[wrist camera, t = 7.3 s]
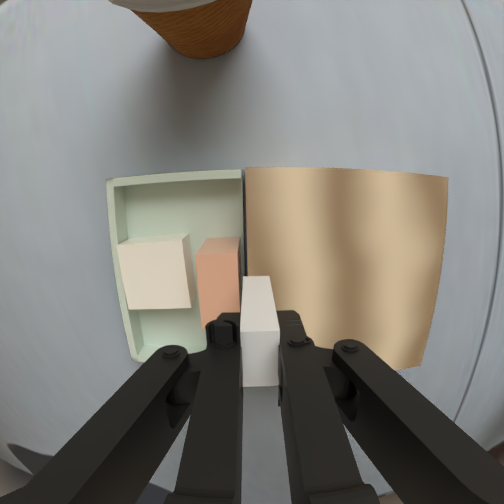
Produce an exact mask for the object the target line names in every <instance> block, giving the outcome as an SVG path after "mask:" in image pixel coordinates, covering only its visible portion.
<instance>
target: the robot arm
mask: <svg viewBox="0 0 504 504" xmlns="http://www.w3.org/2000/svg"><path fill="white" fill-rule="evenodd" d="M205 330H206V340H207V347H206V349H205V350H203V351H200V352H196V353H190V354H188V352H187V349H186V348H184V347H182V346H179V345H166V346H163V347H161V348H159V349H158V350H156V351H155V352H154V353H153V354H152V355H151V356H150V357H149V358H148V359H147V360H146V361H145V363H144V364H143V365H142V366H141V367H140V368H139V369H138V370H137V371H136V372H135V373H134V374H133V375H132V376H131V377H130V378H129V379H128V380H127V381H126V382H125V383H124V384H123V385H122V386H121V387H120V388H119V389H118V390H117V391H116V392H115V394H114V395H113V396H112V397H111V398H110V399H109V400H108V401H107V402H106V403H105V404H104V405H103V406H102V407H101V408H100V409H99V410H98V411H97V412H96V413H95V414H94V415H93V416H92V417H91V418H90V419H89V420H88V421H87V422H86V424H85V425H84V426H83V427H82V428H81V429H80V430H79V431H78V432H77V433H76V434H75V435H74V436H73V437H72V438H71V439H70V440H69V441H68V442H67V443H66V444H65V445H64V446H63V447H62V448H61V449H60V450H59V451H58V452H57V454H56V455H55V456H54V457H53V458H52V459H51V460H50V461H49V462H48V463H47V464H46V465H45V466H44V467H43V468H42V469H41V470H40V471H39V472H38V473H37V474H36V475H35V476H34V477H33V478H32V479H31V480H30V481H29V483H28V484H27V485H26V486H24V487H22V488H20V489H17V490H15V491H13V492H11V493H9V494H7V495H4V496H2V497H0V504H135V502H136V501H137V499H138V498H139V496H140V495H141V493H142V492H143V490H144V488H145V487H146V485H147V484H148V482H149V481H150V479H151V477H152V476H153V474H154V473H155V471H156V470H157V468H158V466H159V465H160V463H161V462H162V460H163V458H164V457H165V455H166V454H167V452H168V450H169V449H170V447H171V445H172V444H173V442H174V441H175V439H176V437H177V436H178V434H179V432H180V431H181V429H182V428H183V426H184V424H185V423H186V421H187V419H188V418H189V416H190V414H191V416H190V421H189V425H188V430H187V434H186V439H185V443H184V448H183V453H182V457H181V462H180V467H179V472H178V477H177V481H176V486H175V490H174V492H173V493H170V494H168V495H167V497H166V499H165V502H164V504H241V480H242V426H243V387H260V386H278V382H279V399H278V406H280V408H281V416H282V424H283V432H284V441H285V449H286V457H287V466H288V475H289V483H290V492H291V501H292V504H380V502H379V500H378V496H377V494H376V492H375V489H374V488H373V487H372V486H371V485H370V484H364V483H363V481H362V479H361V476H360V473H359V470H358V467H357V464H356V461H355V458H354V455H353V452H352V449H351V446H350V443H349V440H348V437H347V434H346V431H345V428H344V425H345V427H346V428H347V429H348V431H349V432H350V433H351V435H352V436H353V437H354V439H355V440H356V441H357V443H358V444H359V445H360V447H361V448H362V450H363V451H364V452H365V454H366V455H367V456H368V458H369V459H370V460H371V461H372V463H373V464H374V465H375V467H376V468H377V469H378V471H379V472H380V473H381V475H382V476H383V477H384V479H385V480H386V481H387V483H388V484H389V485H390V486H391V488H392V489H393V490H394V492H395V493H396V494H397V495H398V497H399V498H400V499H401V500H402V502H403V503H404V504H504V466H502V465H501V464H500V463H499V462H498V461H497V460H496V459H494V458H493V457H492V456H491V455H490V454H489V453H488V452H487V451H485V450H484V449H483V448H482V447H481V446H480V445H479V444H478V443H476V442H475V441H474V440H473V439H472V438H471V437H470V436H468V435H467V434H466V433H465V432H464V431H463V430H462V429H461V428H459V427H458V426H457V425H456V424H455V423H454V422H453V421H452V420H450V419H449V418H448V417H447V416H446V415H445V414H444V413H442V412H441V411H440V410H439V409H438V408H437V407H436V406H435V405H433V404H432V403H431V402H430V401H429V400H428V399H427V398H425V397H424V396H423V395H422V394H421V393H420V392H419V391H417V390H416V389H415V388H414V387H413V386H412V385H411V384H409V383H408V382H407V381H406V380H405V379H404V378H403V377H401V376H400V375H399V374H398V373H397V372H396V371H395V370H393V369H392V368H391V367H390V366H389V365H388V364H387V363H386V362H384V361H383V360H382V359H381V358H380V357H379V356H377V355H376V354H375V353H374V352H373V351H372V350H371V349H369V348H368V347H367V346H366V345H365V344H364V343H362V342H360V341H357V340H354V339H344V340H340V341H337V342H336V343H335V344H334V347H333V349H328V348H321V347H318V346H315V344H314V341H313V340H312V339H311V338H310V337H308V336H307V335H306V332H305V329H304V326H303V323H302V320H301V318H300V315H299V314H298V313H297V312H296V311H294V310H280V311H276V308H275V303H274V298H273V292H272V287H271V282H270V277H269V276H243V289H242V305H241V312H224V313H221V314H220V315H219V316H218V317H217V319H216V320H212V321H210V322H209V323H207V324H206V326H205ZM343 424H344V425H343Z"/></svg>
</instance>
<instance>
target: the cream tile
mask: <svg viewBox="0 0 504 504" xmlns="http://www.w3.org/2000/svg"><path fill="white" fill-rule="evenodd" d="M116 246H117V252H118V258H119V264H120V269H121V275H122V280H123V285H124V290H125V295H126V299H127V304H128V308H129V309H174V308H191V307H192V305H193V303H194V300H195V298H196V296H197V293H196V286H195V278H194V271H193V263H192V255H191V246H190V237H189V233H185V234H173V235H162V236H150V237H140V238H129V239H127V240H125V241H124V242H122V243H120V244H118V245H116Z"/></svg>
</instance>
